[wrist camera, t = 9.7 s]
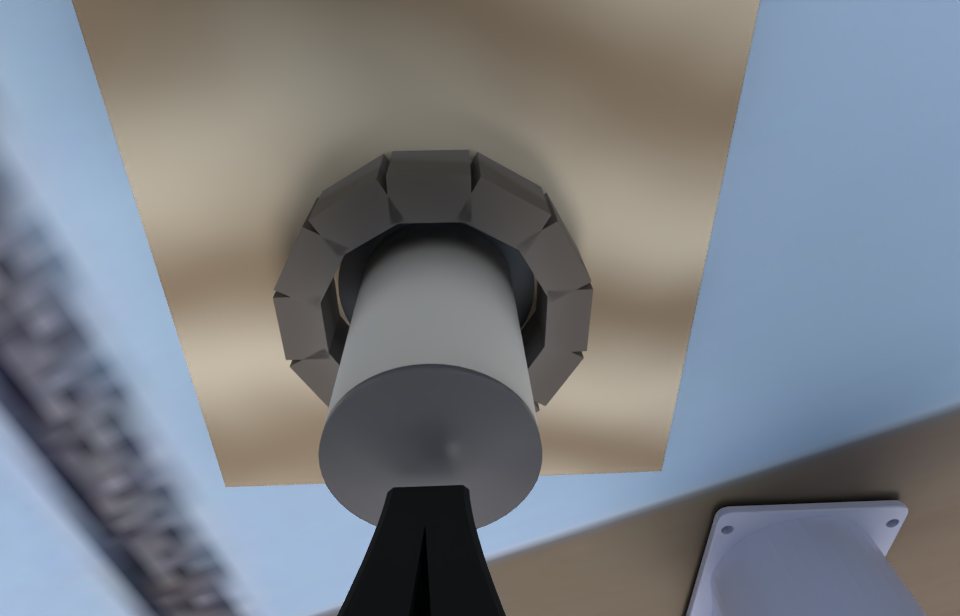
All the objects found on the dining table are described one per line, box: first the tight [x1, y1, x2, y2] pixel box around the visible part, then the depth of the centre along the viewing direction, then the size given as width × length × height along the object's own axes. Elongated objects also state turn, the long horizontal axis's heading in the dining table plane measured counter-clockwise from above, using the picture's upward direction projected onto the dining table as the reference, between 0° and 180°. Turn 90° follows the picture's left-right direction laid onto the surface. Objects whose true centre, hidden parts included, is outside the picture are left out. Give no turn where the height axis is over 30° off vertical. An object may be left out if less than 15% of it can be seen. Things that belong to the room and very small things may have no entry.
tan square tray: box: [72, 0, 760, 487], centre depth 18 cm, size 16×16×3 cm
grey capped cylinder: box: [318, 222, 542, 529], centre depth 15 cm, size 4×4×7 cm
